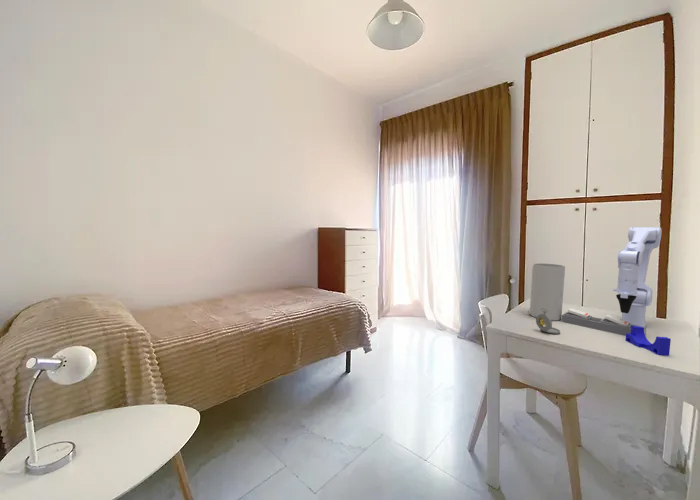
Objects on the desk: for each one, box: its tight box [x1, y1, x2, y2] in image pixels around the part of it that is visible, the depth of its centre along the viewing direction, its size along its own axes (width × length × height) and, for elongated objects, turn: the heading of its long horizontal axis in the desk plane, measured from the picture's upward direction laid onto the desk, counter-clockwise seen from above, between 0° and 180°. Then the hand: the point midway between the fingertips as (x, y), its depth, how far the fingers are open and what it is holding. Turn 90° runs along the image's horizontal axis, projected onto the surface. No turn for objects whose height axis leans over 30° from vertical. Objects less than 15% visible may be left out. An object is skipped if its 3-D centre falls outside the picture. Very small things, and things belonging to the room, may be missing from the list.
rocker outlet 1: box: [567, 307, 591, 318], centre depth 126 cm, size 4×7×2 cm, turn 40°
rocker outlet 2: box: [604, 313, 629, 326], centre depth 117 cm, size 4×7×2 cm, turn 40°
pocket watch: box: [535, 308, 561, 335], centre depth 115 cm, size 8×8×10 cm
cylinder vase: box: [529, 262, 566, 322], centre depth 134 cm, size 12×12×25 cm
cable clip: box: [625, 326, 672, 357], centre depth 100 cm, size 12×4×6 cm, turn 170°
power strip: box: [561, 311, 647, 337], centre depth 121 cm, size 8×26×4 cm, turn 40°
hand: (624, 312), depth 115 cm, fingers closed
